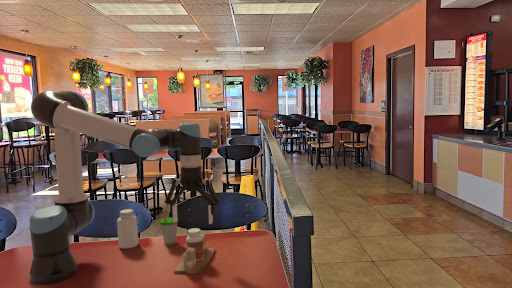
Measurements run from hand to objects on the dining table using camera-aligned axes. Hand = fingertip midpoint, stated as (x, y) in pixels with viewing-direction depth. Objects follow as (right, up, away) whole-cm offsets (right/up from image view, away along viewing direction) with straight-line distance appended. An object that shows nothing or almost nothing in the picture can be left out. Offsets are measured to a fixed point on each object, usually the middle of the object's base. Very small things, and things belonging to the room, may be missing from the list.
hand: (192, 222), depth 143 cm
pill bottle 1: (-30, -14, +19) cm, 38 cm away
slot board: (+1, -15, +2) cm, 15 cm away
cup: (-13, -13, +20) cm, 27 cm away
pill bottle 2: (+1, -14, +2) cm, 14 cm away
